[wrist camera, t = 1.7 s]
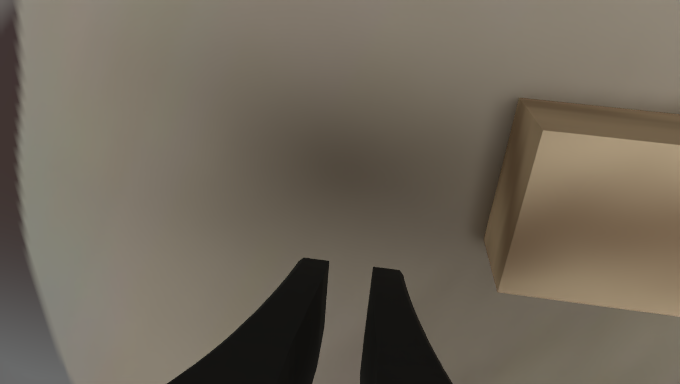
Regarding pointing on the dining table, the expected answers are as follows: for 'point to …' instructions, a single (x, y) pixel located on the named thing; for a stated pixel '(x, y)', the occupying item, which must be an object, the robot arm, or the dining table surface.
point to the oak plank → (589, 207)
